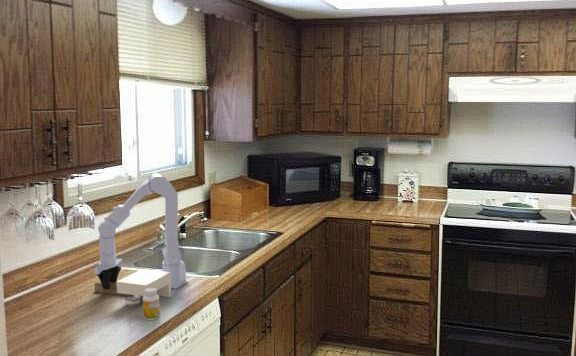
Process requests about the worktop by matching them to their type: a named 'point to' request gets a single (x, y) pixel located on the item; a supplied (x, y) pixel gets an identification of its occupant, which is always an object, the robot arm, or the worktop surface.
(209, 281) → the worktop surface
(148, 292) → the supplement bottle
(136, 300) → the clear glass cup
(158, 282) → the cream step stool
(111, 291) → the tan long block
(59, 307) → the worktop surface
